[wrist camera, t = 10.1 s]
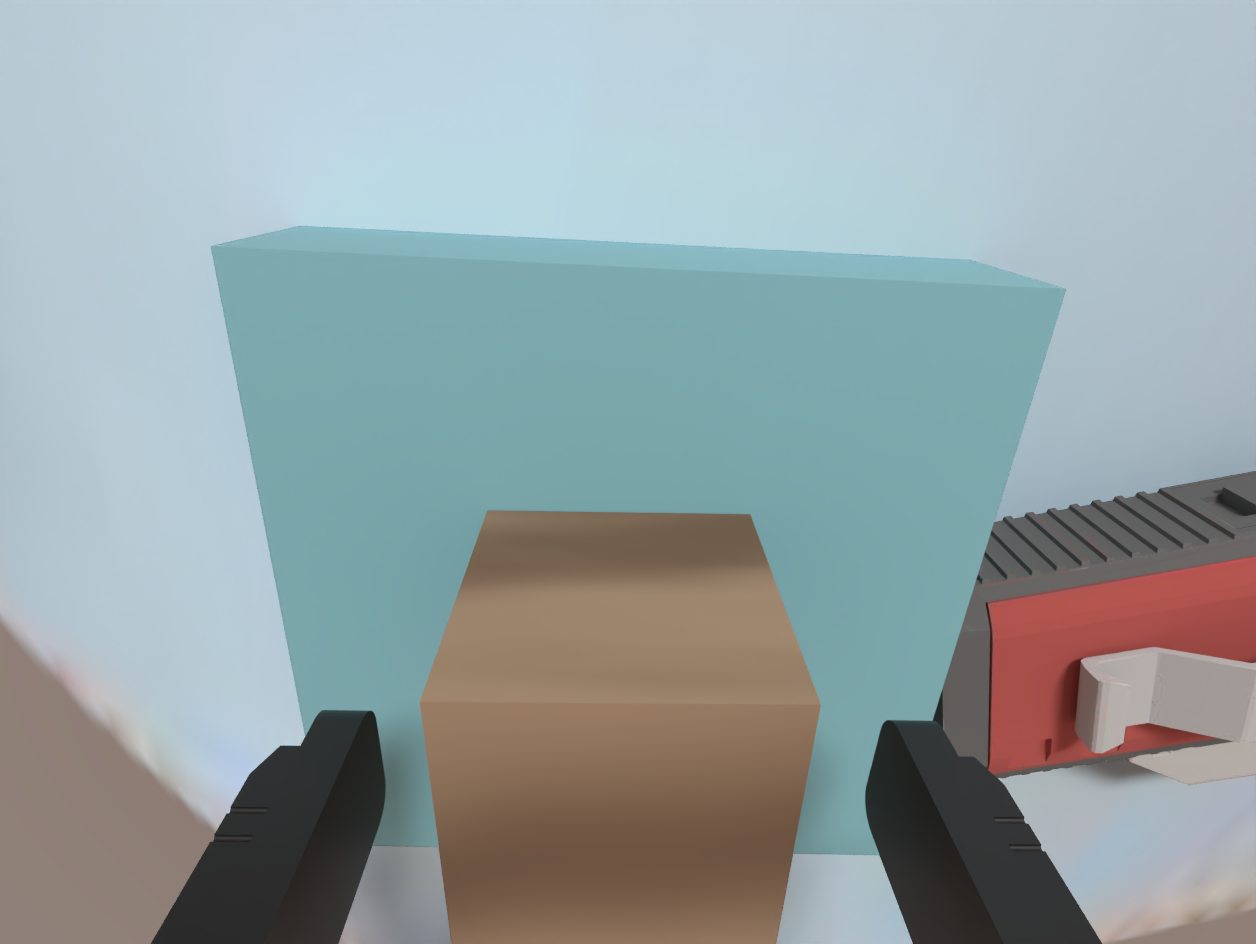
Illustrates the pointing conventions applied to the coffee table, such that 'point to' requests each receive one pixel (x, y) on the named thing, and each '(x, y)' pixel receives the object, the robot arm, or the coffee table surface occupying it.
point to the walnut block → (617, 733)
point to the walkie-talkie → (1114, 638)
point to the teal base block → (627, 450)
